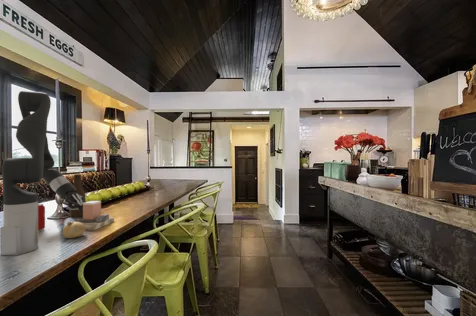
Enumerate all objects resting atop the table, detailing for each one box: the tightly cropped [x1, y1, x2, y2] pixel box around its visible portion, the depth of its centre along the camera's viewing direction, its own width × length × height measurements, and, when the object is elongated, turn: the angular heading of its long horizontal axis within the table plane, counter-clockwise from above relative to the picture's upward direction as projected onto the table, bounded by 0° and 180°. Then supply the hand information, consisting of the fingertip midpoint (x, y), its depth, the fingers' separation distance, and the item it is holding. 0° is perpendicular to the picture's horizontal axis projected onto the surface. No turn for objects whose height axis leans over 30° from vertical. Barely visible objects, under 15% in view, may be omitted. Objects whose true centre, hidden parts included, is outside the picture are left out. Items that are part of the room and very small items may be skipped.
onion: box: [61, 220, 87, 239], centre depth 99 cm, size 8×8×7 cm
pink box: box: [82, 200, 102, 221], centre depth 117 cm, size 6×5×9 cm
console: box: [63, 213, 115, 232], centre depth 116 cm, size 16×14×4 cm
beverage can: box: [38, 203, 46, 233], centre depth 108 cm, size 6×6×12 cm
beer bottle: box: [68, 173, 86, 218], centre depth 136 cm, size 8×8×24 cm
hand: (86, 212), depth 118 cm, fingers closed
